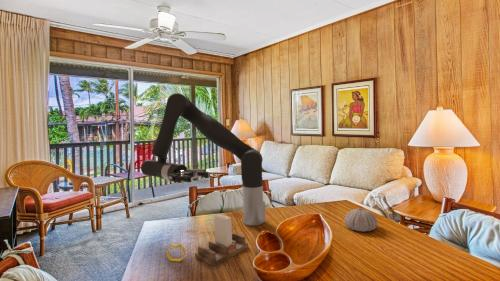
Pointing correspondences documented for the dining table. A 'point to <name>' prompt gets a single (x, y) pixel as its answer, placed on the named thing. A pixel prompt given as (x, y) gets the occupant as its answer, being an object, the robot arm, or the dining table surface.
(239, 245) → the rack
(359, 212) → the sea urchin shell
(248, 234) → the dining table surface
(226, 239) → the panel
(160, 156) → the robot arm
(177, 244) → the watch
